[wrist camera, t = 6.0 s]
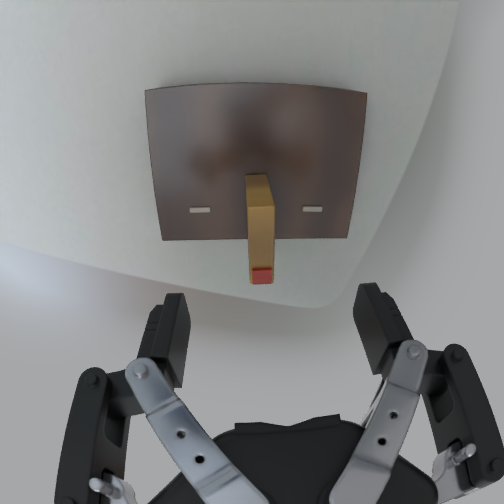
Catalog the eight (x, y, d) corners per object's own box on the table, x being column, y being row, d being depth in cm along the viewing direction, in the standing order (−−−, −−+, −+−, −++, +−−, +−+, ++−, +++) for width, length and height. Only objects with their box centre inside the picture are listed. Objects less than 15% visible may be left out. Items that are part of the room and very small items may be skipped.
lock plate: (351, 90, 18) (368, 93, 15) (336, 220, 24) (347, 239, 21) (157, 88, 17) (143, 90, 15) (170, 221, 24) (161, 242, 21)
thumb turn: (245, 174, 18) (247, 209, 14) (266, 173, 18) (275, 208, 14) (247, 239, 21) (250, 287, 17) (266, 239, 21) (274, 286, 17)
